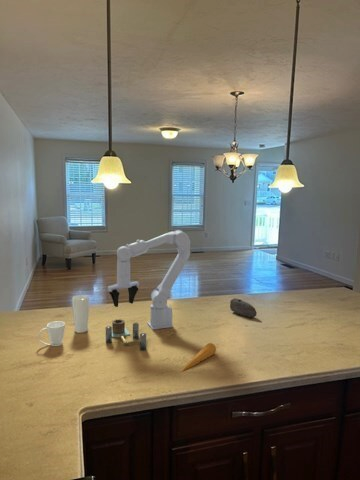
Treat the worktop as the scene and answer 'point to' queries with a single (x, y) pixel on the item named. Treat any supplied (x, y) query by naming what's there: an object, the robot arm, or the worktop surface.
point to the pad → (121, 334)
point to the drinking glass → (80, 312)
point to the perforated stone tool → (242, 308)
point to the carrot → (201, 355)
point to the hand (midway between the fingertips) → (123, 304)
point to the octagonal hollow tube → (118, 326)
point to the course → (135, 336)
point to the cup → (54, 333)
